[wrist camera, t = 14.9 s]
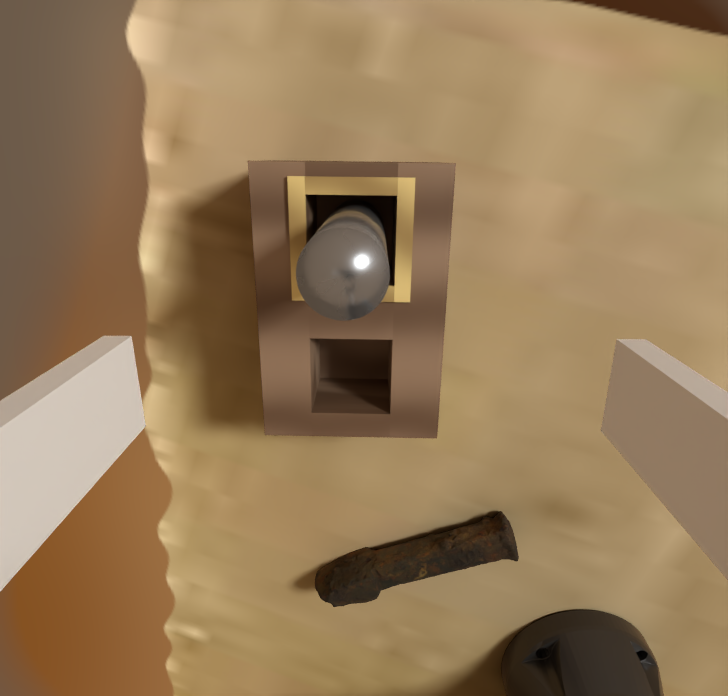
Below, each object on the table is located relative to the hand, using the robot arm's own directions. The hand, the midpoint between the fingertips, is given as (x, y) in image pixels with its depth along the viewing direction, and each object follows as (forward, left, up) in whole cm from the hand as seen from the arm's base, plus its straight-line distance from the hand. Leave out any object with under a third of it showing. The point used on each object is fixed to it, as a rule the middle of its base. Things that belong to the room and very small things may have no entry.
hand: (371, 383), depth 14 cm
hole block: (-3, +1, -27) cm, 27 cm away
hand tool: (-29, -4, -27) cm, 40 cm away
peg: (+1, +1, -25) cm, 25 cm away
